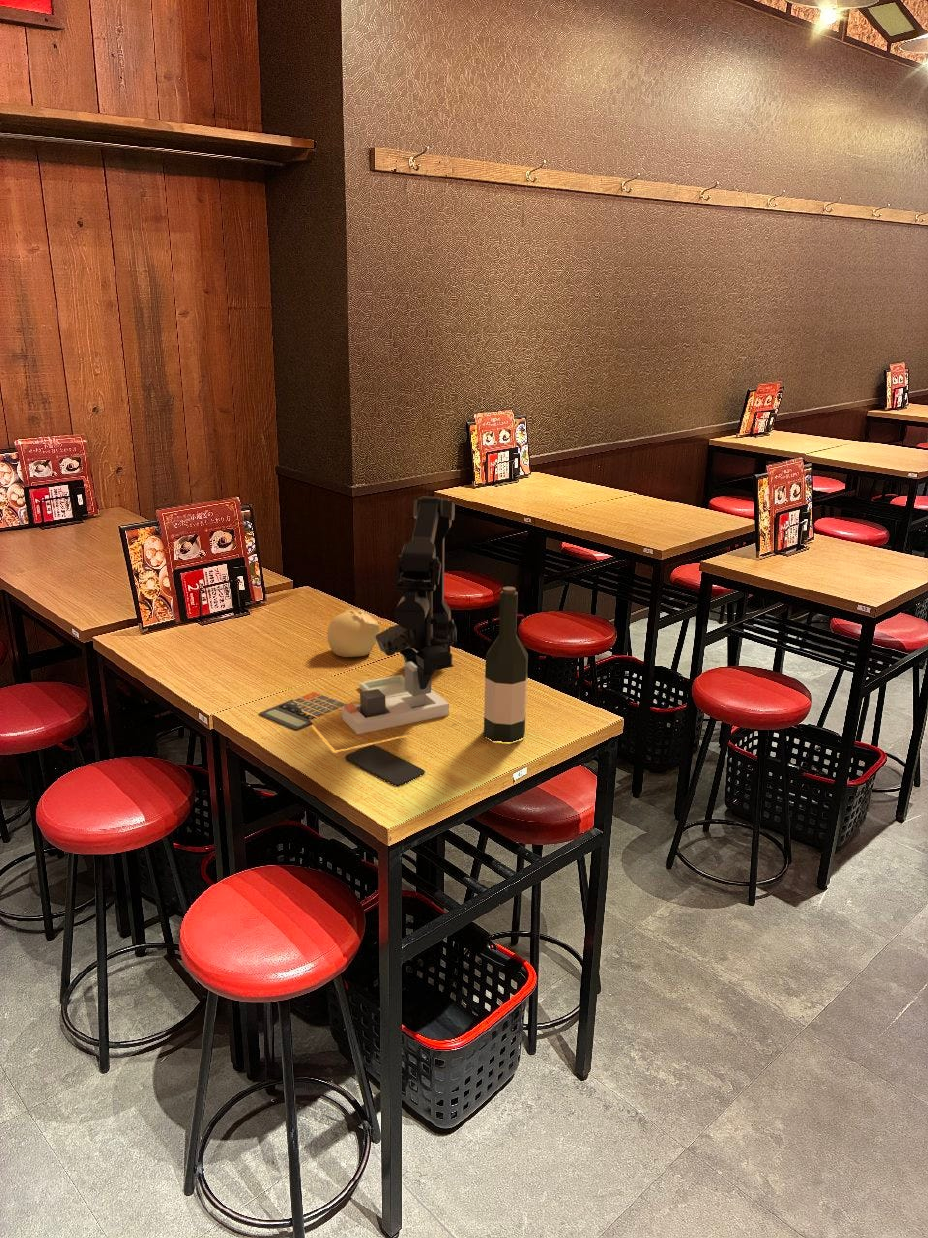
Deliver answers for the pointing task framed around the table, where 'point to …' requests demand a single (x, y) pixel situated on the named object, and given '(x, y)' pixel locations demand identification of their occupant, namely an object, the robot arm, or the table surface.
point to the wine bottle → (506, 676)
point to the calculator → (299, 711)
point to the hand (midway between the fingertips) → (418, 685)
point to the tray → (386, 686)
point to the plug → (414, 680)
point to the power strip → (392, 710)
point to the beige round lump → (352, 633)
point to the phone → (384, 765)
